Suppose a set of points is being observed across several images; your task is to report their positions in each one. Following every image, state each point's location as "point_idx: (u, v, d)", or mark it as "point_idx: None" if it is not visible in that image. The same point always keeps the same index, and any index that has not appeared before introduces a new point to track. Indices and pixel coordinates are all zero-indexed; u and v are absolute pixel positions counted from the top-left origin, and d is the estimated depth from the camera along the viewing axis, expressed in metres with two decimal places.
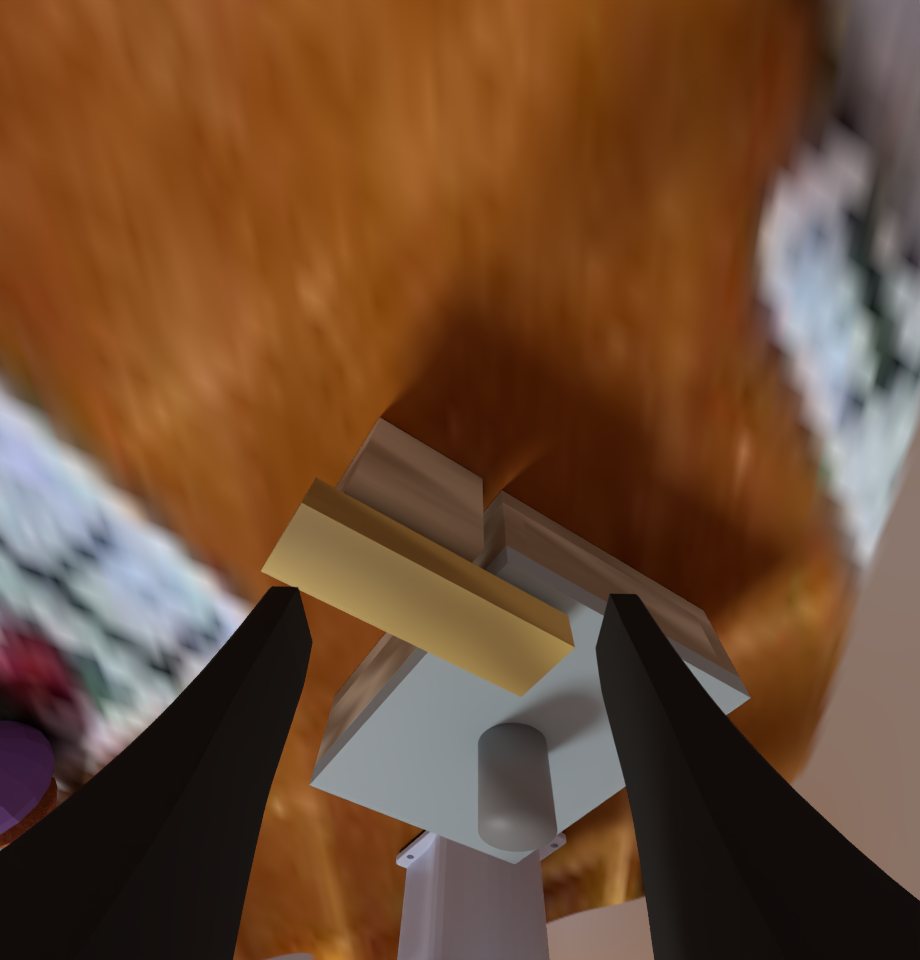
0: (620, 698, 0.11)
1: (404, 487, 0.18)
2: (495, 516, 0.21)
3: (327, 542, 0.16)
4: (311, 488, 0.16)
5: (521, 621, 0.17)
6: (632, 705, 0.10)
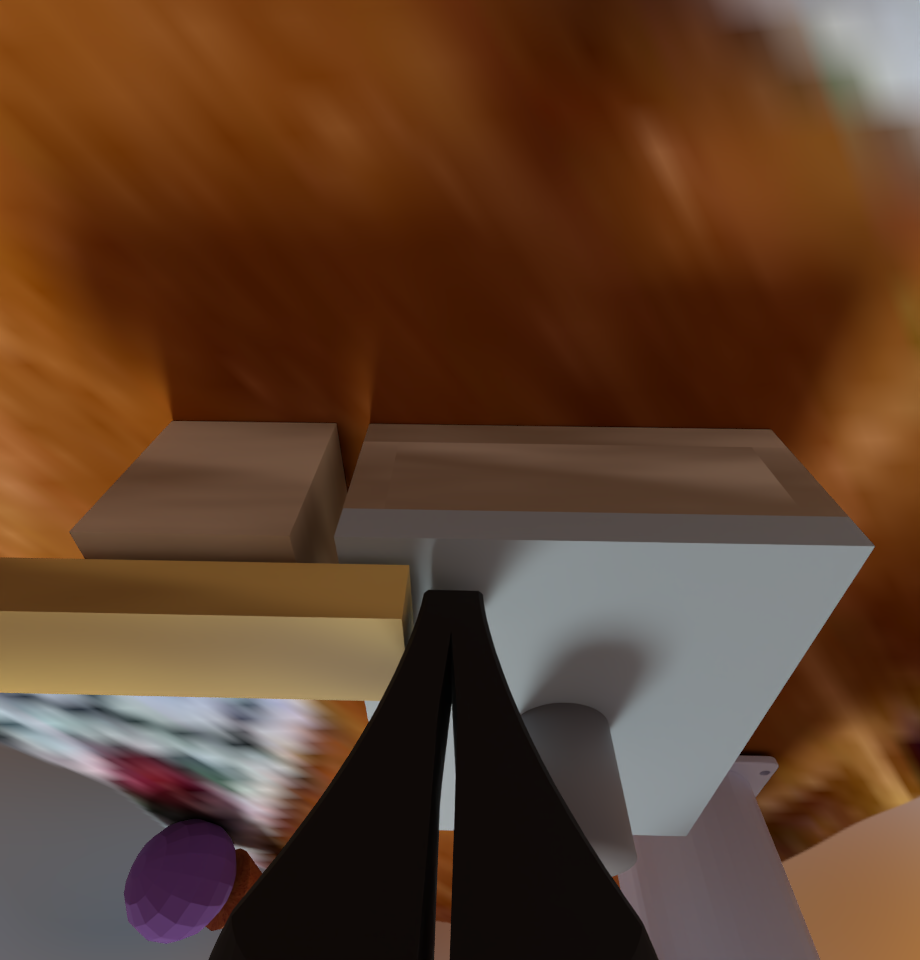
0: (452, 694, 0.11)
1: (164, 505, 0.13)
2: None
3: None
4: None
5: (298, 618, 0.11)
6: (453, 701, 0.10)
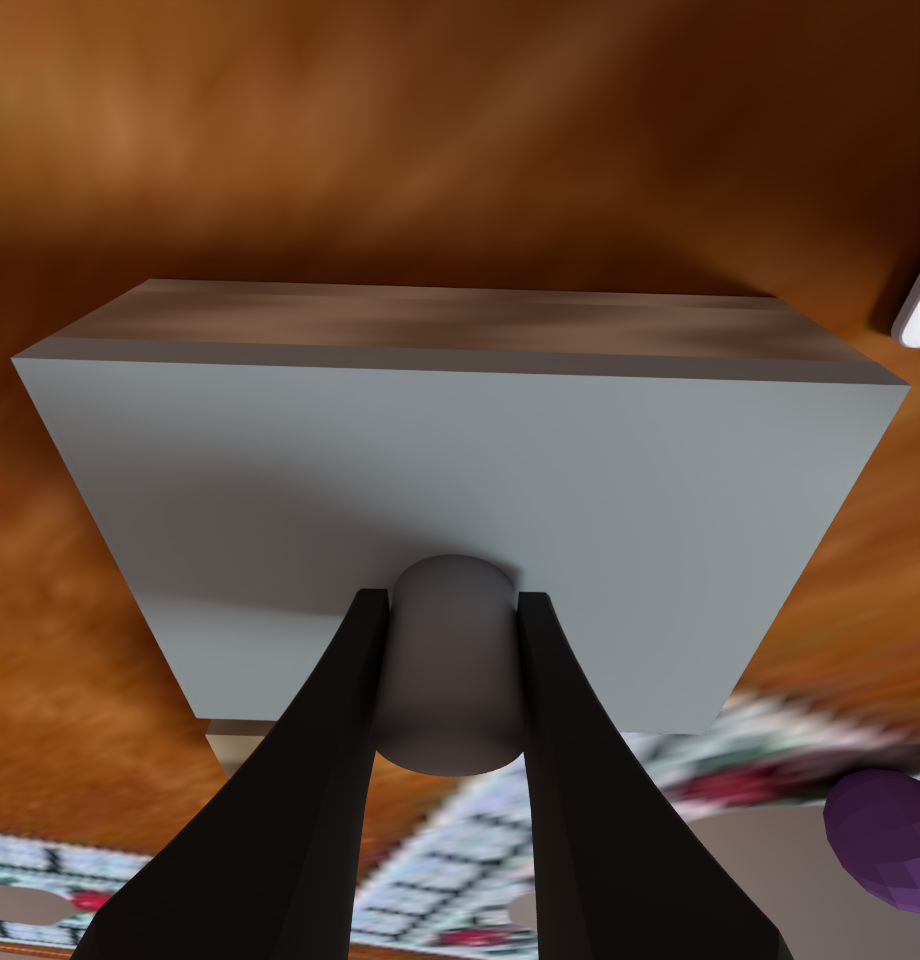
0: None
1: None
2: None
3: None
4: None
5: None
6: (529, 703, 0.10)
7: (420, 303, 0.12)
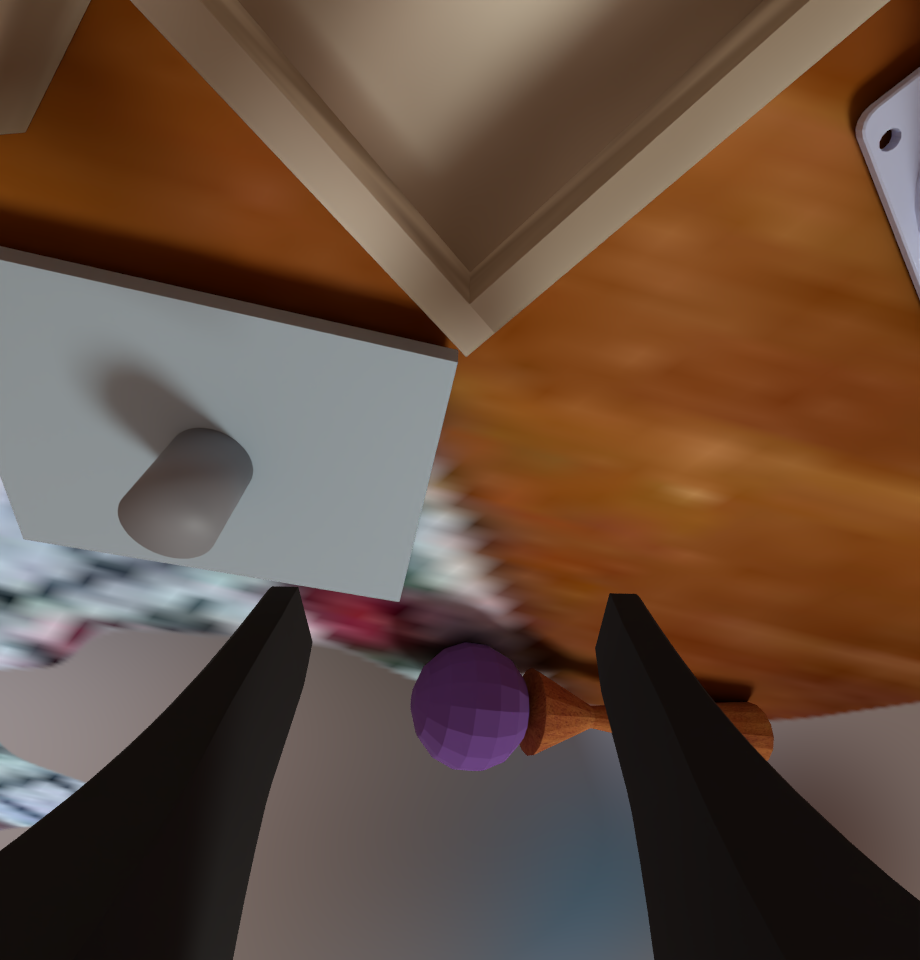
0: (620, 698, 0.11)
1: None
2: None
3: None
4: None
5: None
6: (632, 705, 0.10)
7: None
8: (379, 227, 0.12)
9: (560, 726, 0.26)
